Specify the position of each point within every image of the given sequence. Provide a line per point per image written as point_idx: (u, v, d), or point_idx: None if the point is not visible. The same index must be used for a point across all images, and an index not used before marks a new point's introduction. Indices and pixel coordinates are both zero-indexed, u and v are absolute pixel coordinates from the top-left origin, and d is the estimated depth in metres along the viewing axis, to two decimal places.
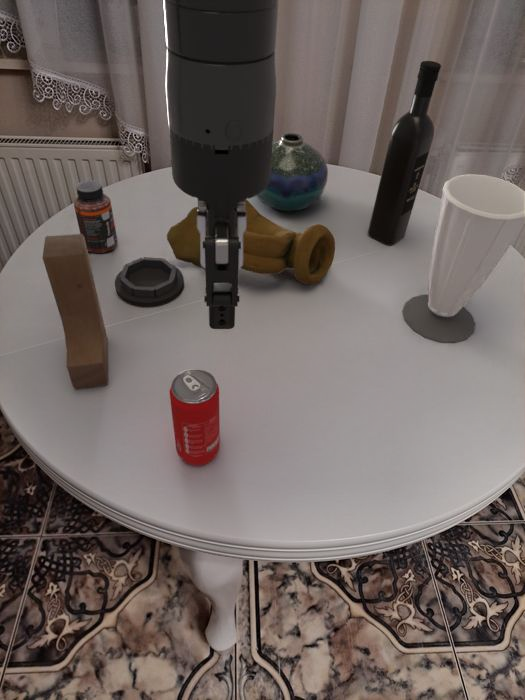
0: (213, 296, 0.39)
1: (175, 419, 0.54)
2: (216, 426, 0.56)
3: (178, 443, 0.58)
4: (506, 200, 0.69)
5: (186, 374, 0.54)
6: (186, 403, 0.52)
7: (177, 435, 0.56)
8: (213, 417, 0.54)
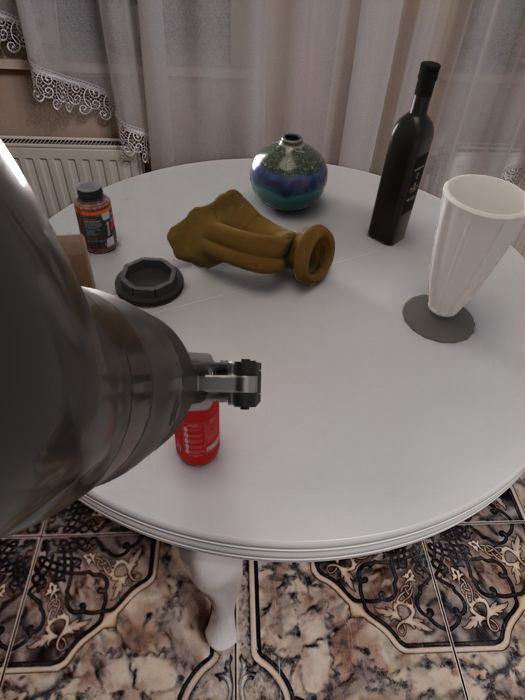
0: None
1: None
2: (216, 426, 0.56)
3: (178, 443, 0.58)
4: (507, 200, 0.69)
5: None
6: None
7: (177, 435, 0.56)
8: (213, 417, 0.54)
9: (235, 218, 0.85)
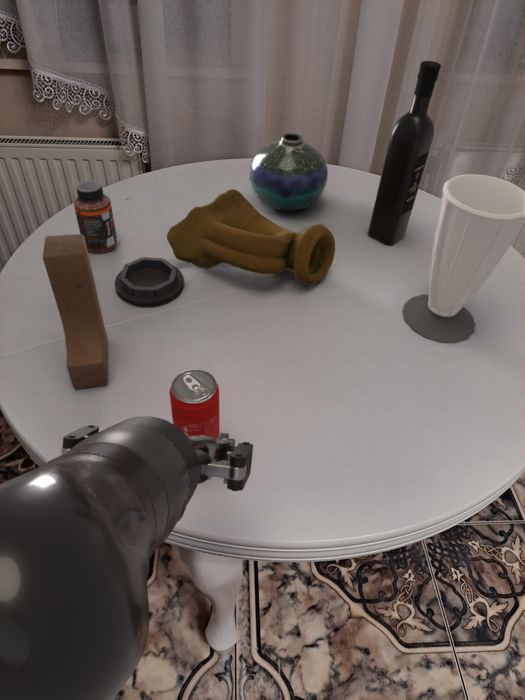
0: None
1: (175, 419, 0.54)
2: (216, 426, 0.56)
3: None
4: (507, 200, 0.69)
5: (186, 374, 0.54)
6: (186, 403, 0.52)
7: None
8: (213, 417, 0.54)
9: (235, 218, 0.85)
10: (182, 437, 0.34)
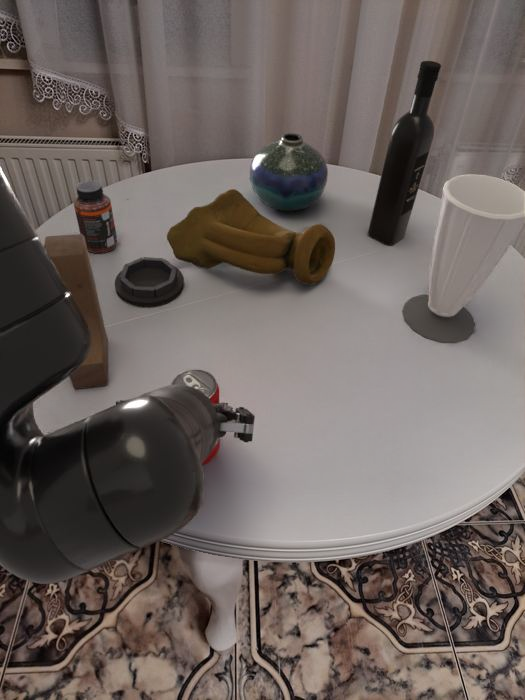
0: None
1: None
2: None
3: None
4: (507, 200, 0.69)
5: (186, 374, 0.54)
6: None
7: None
8: None
9: (235, 218, 0.85)
10: (207, 399, 0.45)
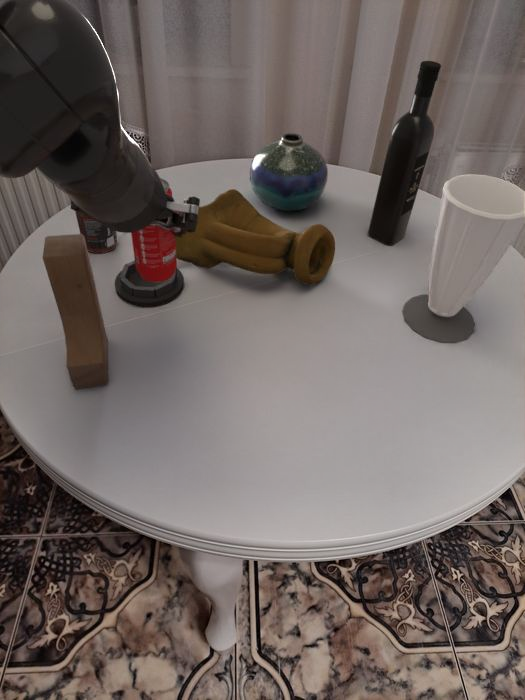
0: None
1: None
2: (171, 234, 0.61)
3: (136, 254, 0.62)
4: (507, 200, 0.69)
5: None
6: None
7: (134, 243, 0.61)
8: None
9: (235, 218, 0.85)
10: None
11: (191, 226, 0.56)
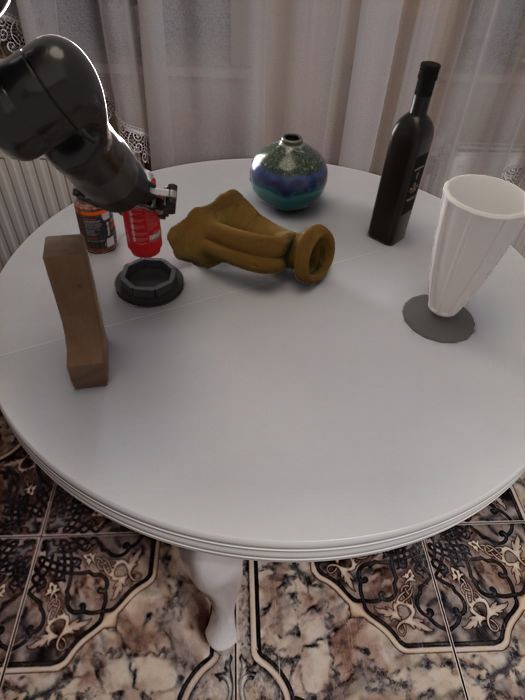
0: None
1: None
2: (156, 216, 0.73)
3: (127, 233, 0.74)
4: (507, 200, 0.69)
5: None
6: None
7: (126, 224, 0.73)
8: None
9: (235, 218, 0.85)
10: None
11: (171, 208, 0.68)
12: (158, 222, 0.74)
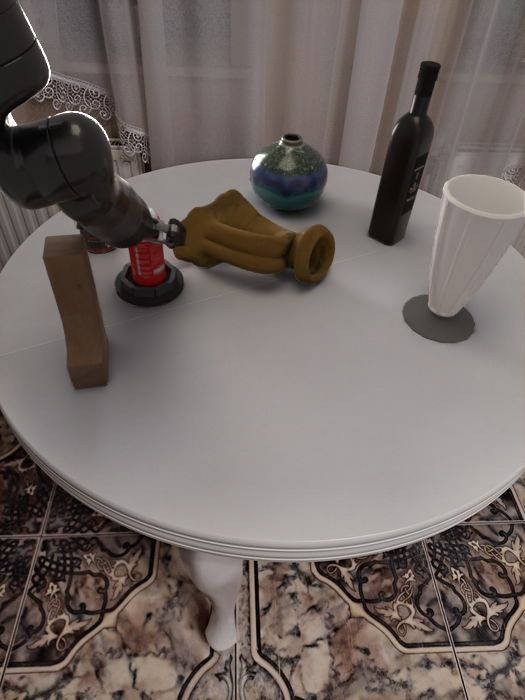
0: None
1: None
2: (160, 252, 0.77)
3: (133, 267, 0.78)
4: (507, 200, 0.69)
5: None
6: None
7: (131, 259, 0.77)
8: None
9: (235, 218, 0.85)
10: None
11: (177, 241, 0.71)
12: (162, 257, 0.78)
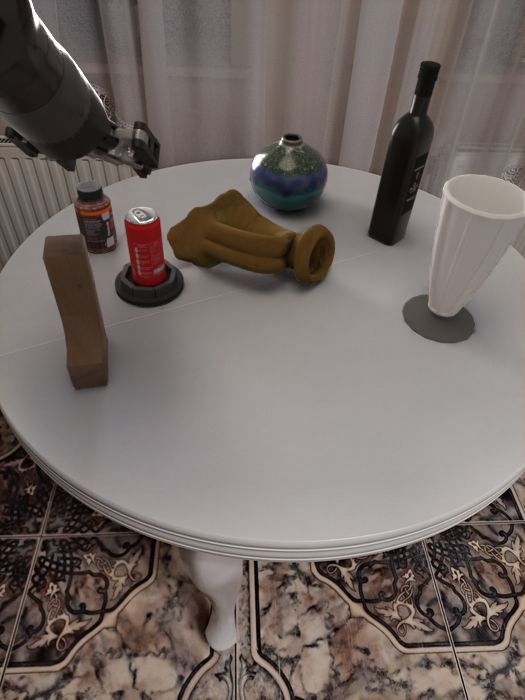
0: None
1: (129, 243, 0.75)
2: (160, 252, 0.77)
3: (133, 267, 0.78)
4: (507, 200, 0.69)
5: (136, 209, 0.75)
6: (135, 224, 0.72)
7: (131, 259, 0.77)
8: (156, 241, 0.75)
9: (235, 218, 0.85)
10: None
11: (146, 157, 0.51)
12: (162, 257, 0.78)
